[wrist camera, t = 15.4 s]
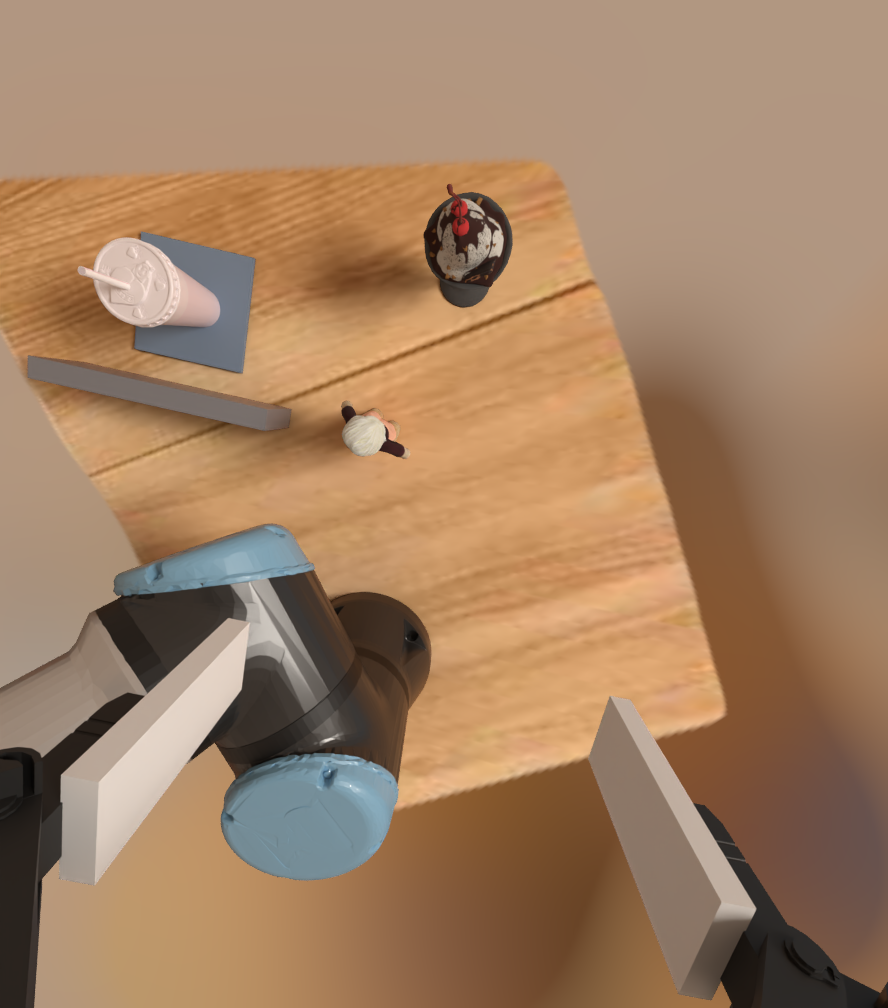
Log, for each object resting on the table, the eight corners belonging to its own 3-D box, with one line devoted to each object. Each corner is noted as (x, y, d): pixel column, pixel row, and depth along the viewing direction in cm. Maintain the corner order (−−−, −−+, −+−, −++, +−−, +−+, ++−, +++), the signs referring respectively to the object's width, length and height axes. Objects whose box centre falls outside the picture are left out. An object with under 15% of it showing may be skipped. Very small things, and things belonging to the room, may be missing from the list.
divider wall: (288, 427, 46) (264, 430, 40) (82, 381, 45) (27, 377, 39) (291, 408, 45) (267, 409, 40) (83, 362, 45) (27, 355, 39)
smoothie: (156, 301, 43) (20, 256, 29) (201, 257, 42) (82, 189, 28) (202, 354, 44) (91, 335, 31) (247, 313, 43) (153, 273, 30)
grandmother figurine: (344, 429, 46) (303, 437, 33) (359, 396, 45) (323, 392, 33) (408, 462, 46) (392, 482, 34) (424, 430, 46) (413, 439, 33)
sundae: (440, 234, 42) (432, 140, 27) (507, 254, 42) (535, 171, 27) (423, 305, 43) (407, 253, 28) (487, 324, 43) (505, 282, 29)
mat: (242, 373, 45) (240, 372, 44) (137, 349, 44) (134, 348, 44) (255, 259, 42) (253, 257, 42) (144, 233, 42) (141, 231, 42)
